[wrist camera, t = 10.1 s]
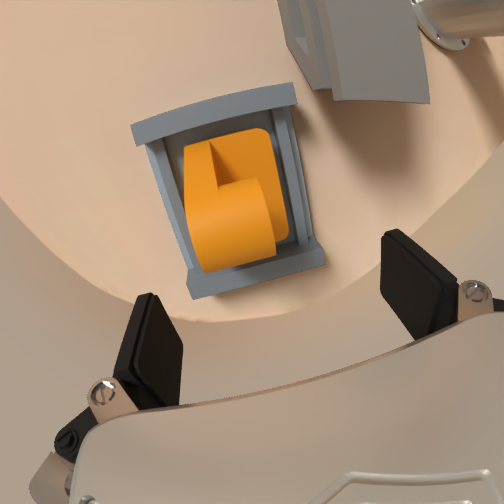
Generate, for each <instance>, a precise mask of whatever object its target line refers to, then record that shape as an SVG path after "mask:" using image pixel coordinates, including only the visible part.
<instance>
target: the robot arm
mask: <svg viewBox="0 0 504 504" xmlns="http://www.w3.org/2000/svg"><path fill="white" fill-rule="evenodd" d="M411 3H412V6H413V10H414V14H415V17H416V21H417V25H418V26H419V27H420V28H421V30H422V31H423V32H424V33H425V34H426V35H427V36H428V37H429V38H430V39H431V40H432V41H433V42H435V43H436V44H437V45H439V46H441V47H443V48H444V49H447V50H451V51H457V50H462V49H465V48H466V47H467V46H468V44H469V42H470V38H480V37H497V36H504V0H411ZM380 291H381V294H382V296H383V298H384V299H385V300H386V301H387V303H388V304H389V305H390V307H391V308H392V309H393V311H394V312H395V313H396V315H397V316H398V318H399V319H400V320H401V322H402V323H403V324H404V326H405V327H406V329H407V330H408V331H409V333H410V334H411V336H412V337H413V338H414V340H415V341H413V342H411V343H409V344H407V345H404V346H402V347H399V348H397V349H394V350H392V351H390V352H387V353H384V354H382V355H379V356H377V357H374V358H371V359H368V360H366V361H363V362H360V363H357V364H354V365H351V366H348V367H346V368H342V369H339V370H336V371H333V372H330V373H327V374H323V375H320V376H317V377H313V378H310V379H307V380H303V381H299V382H296V383H292V384H288V385H284V386H280V387H276V388H272V389H267V390H263V391H258V392H254V393H249V394H244V395H239V396H234V397H229V398H223V399H217V400H211V401H204V402H199V403H192V404H184V405H179V397H180V383H181V370H182V357H183V343H182V341H181V339H180V337H179V335H178V333H177V331H176V330H175V328H174V326H173V324H172V322H171V320H170V318H169V316H168V315H167V313H166V311H165V309H164V307H163V305H162V303H161V301H160V299H159V297H158V296H157V295H153V294H152V293H147V294H142V295H139V296H138V297H137V299H136V302H135V305H134V308H133V311H132V314H131V317H130V320H129V323H128V326H127V329H126V332H125V335H124V338H123V341H122V345H121V347H120V351H119V354H118V357H117V361H116V364H115V368H114V373H113V377H106V378H102V379H100V380H98V381H97V382H95V383H94V384H93V385H92V387H91V388H90V390H89V392H88V396H87V400H88V404H89V407H88V408H86V409H85V410H84V411H83V412H82V413H80V414H79V415H78V416H77V417H76V418H75V419H73V420H72V421H71V422H70V423H68V424H67V425H66V426H65V427H64V428H62V429H61V430H60V431H59V432H58V434H57V436H56V438H55V441H54V447H55V450H56V452H55V453H53V452H50V454H49V455H48V457H47V458H46V460H45V461H44V463H43V464H42V465H41V467H40V468H39V470H38V471H37V472H36V474H35V475H34V477H33V478H32V480H31V482H30V486H29V490H30V494H31V496H32V498H33V499H34V500H35V502H36V503H37V504H504V300H500V299H495V298H492V293H491V290H490V289H489V288H488V287H487V286H486V285H485V284H484V283H482V282H480V281H476V280H468V281H464V282H463V283H461V285H459V284H458V283H457V278H456V277H455V276H454V275H453V274H451V273H450V272H449V271H448V270H447V269H446V268H445V267H444V266H443V265H441V264H440V263H439V262H438V261H437V260H436V259H435V258H433V257H432V256H431V255H430V254H429V253H427V252H426V251H425V250H424V249H423V248H422V247H420V246H419V245H418V244H417V243H415V242H414V241H413V240H412V239H411V238H409V237H408V236H407V235H406V234H404V233H403V232H402V231H400V230H399V229H393V230H390V231H386V232H385V233H384V236H382V238H381V277H380Z"/></svg>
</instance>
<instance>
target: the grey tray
mask: <svg viewBox="0 0 504 504" xmlns="http://www.w3.org/2000/svg"><path fill="white" fill-rule="evenodd" d="M294 104H298V103H297V99H296V94H295V90H294V86H293V82H291V83H284V84H278V85H272V86H266V87H261V88H255V89H250V90H246V91H241V92H236V93H232V94H228V95H224V96H220V97H216V98H212V99H208V100H204V101H201V102H197V103H194V104H190V105H187V106H184V107H180V108H177V109H174V110H171V111H168V112H165V113H162V114H159V115H156V116H153V117H151V118H148V119H145V120H142V121H140V122H137V123H134V124H132V125H130V126H131V130H132V133H133V137H134V140H135V144H136V147H137V146H140V145H142V144H145V147H146V150H147V153H148V157H149V160H150V163H151V166H152V169H153V172H154V176H155V179H156V182H157V185H158V188H159V191H160V194H161V197H162V200H163V202H164V205H165V208H166V211H167V214H168V217H169V220H170V222H171V225H172V228H173V231H174V233H175V236H176V239H177V242H178V244H179V247H180V250H181V252H182V255H183V257H184V260H185V263H186V265H187V268H188V275H187V282H186V285H187V287H188V290H189V292H190V294H191V297H192V299H193V300H195V299H199V298H203V297H207V296H211V295H215V294H219V293H222V292H226V291H230V290H234V289H238V288H242V287H245V286H249V285H253V284H257V283H260V282H264V281H268V280H271V279H275V278H279V277H282V276H286V275H289V274H293V273H296V272H300V271H303V270H307V269H310V268H314V267H317V266H321V265H324V256H323V248H322V246H321V245H320V244H319V243H318V241H317V240H316V239H315V238H314V236H313V232H312V225H311V219H310V213H309V206H308V200H307V194H306V189H305V183H304V177H303V172H302V167H301V161H300V156H299V151H298V146H297V141H296V136H295V132H294V127H293V122H292V118H291V113H290V109H289V105H294ZM251 128H260V129H263V130H265V131H267V132H268V134H269V136H270V139H271V144H272V148H273V153H274V157H275V162H276V167H277V171H278V176H279V181H280V186H281V191H282V196H283V201H284V206H285V211H286V216H287V222H288V227H289V233H288V235H287V237H286V238H285V239H283V240H281V241H278V242H275V245H276V256H272V257H268V258H264V259H261V260H257V261H253V262H249V263H246V264H242V265H238V266H234V267H230V268H227V269H223V270H219V271H215V272H211V273H205V272H204V270H203V269H202V267H201V265H200V263H199V261H198V258H197V256H196V253H195V250H194V247H193V244H192V241H191V237H190V233H189V229H188V225H187V220H186V214H185V204H184V147H185V146H187V145H190V144H193V143H197V142H200V141H204V140H207V139H211V138H215V137H218V136H222V135H226V134H230V133H234V132H238V131H243V130H247V129H251Z"/></svg>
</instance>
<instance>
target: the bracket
mask: <svg viewBox="0 0 504 504" xmlns="http://www.w3.org/2000/svg"><path fill="white" fill-rule="evenodd" d="M184 204H185V214H186V220H187V225H188V229H189V233H190V237H191V241H192V244H193V247H194V250H195V253H196V256H197V258H198V261H199V263H200V265H201V267H202V269H203V270H204V272H205V273H211V272H215V271H219V270H223V269H227V268H230V267H234V266H238V265H242V264H246V263H249V262H253V261H257V260H261V259H264V258H268V257H272V256H276V245H275V242H278V241H281V240H283V239H285V238H286V237H287V235H288V233H289V227H288V222H287V216H286V211H285V206H284V201H283V196H282V191H281V186H280V181H279V176H278V171H277V167H276V162H275V157H274V153H273V148H272V144H271V139H270V136H269V134H268V132H267V131H265V130H263V129H260V128H251V129H247V130H243V131H238V132H234V133H230V134H226V135H222V136H218V137H215V138H211V139H207V140H204V141H200V142H197V143H193V144H190V145H187V146H185V147H184Z"/></svg>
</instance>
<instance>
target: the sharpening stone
mask: <svg viewBox="0 0 504 504" xmlns="http://www.w3.org/2000/svg"><path fill="white" fill-rule="evenodd" d="M277 1H278V6H279V10H280V15H281V20H282V25H283V30H284V35H285V40H286V45H287V46H288V48H289V50H290V51H291V53H292V55H293V56H294V58H295V60H296V61H297V63H298V65H299V67H300V68H301V70H302V72H303V74H304V75H305V77H306V79H307V81H308V83H309V84H310V86H311V88H312V90H332V94H333V101H391V102H407V103H419V104H430V97H429V87H428V79H427V72H426V66H425V59H424V54H423V48H422V43H421V39H420V34H419V30H418V25H417V21H416V17H415V14H414V10H413V6H412V3H411V0H277Z"/></svg>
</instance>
